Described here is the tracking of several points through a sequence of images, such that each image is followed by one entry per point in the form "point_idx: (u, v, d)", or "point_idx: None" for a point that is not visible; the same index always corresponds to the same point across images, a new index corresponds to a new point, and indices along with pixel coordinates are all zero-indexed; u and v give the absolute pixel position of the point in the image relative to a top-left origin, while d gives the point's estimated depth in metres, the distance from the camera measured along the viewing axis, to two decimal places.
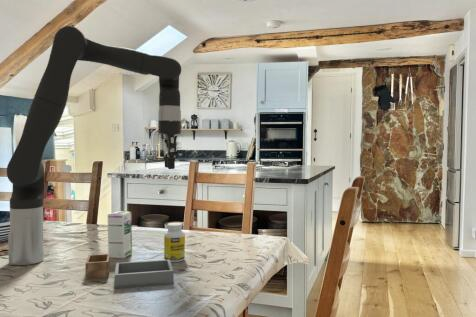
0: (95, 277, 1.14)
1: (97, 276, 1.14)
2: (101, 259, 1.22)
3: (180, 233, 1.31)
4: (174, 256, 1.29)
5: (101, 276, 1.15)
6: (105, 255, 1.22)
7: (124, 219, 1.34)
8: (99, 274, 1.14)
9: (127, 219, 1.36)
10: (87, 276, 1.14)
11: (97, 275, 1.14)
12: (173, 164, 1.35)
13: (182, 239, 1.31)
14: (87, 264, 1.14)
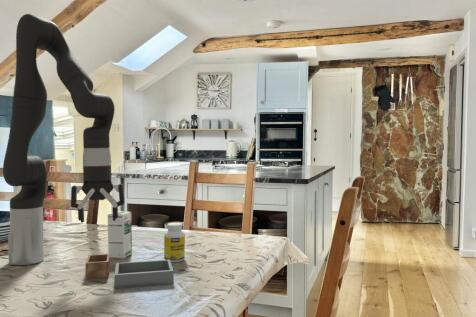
0: (95, 277, 1.14)
1: (97, 276, 1.14)
2: (101, 259, 1.22)
3: (180, 233, 1.31)
4: (174, 256, 1.29)
5: (101, 276, 1.15)
6: (105, 255, 1.22)
7: (124, 219, 1.34)
8: (99, 274, 1.14)
9: (127, 219, 1.36)
10: (87, 276, 1.14)
11: (97, 275, 1.14)
12: None
13: (182, 239, 1.31)
14: (87, 264, 1.14)
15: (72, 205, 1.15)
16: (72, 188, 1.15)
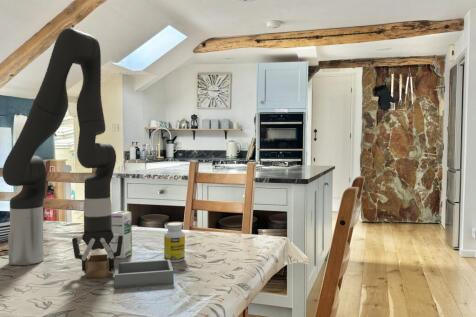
0: (95, 277, 1.14)
1: (97, 276, 1.14)
2: (101, 259, 1.22)
3: (180, 233, 1.31)
4: (174, 256, 1.29)
5: (101, 276, 1.15)
6: (105, 255, 1.22)
7: (124, 219, 1.34)
8: (99, 274, 1.14)
9: (127, 219, 1.36)
10: (87, 276, 1.14)
11: (97, 275, 1.14)
12: None
13: (182, 239, 1.31)
14: (87, 264, 1.14)
15: (76, 256, 1.16)
16: (73, 240, 1.15)
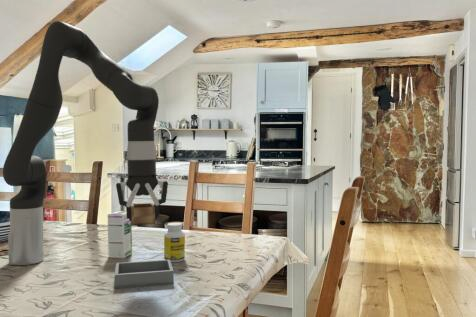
0: (141, 223, 1.09)
1: (143, 222, 1.09)
2: None
3: (180, 233, 1.31)
4: (174, 256, 1.29)
5: (147, 222, 1.09)
6: (148, 204, 1.17)
7: (124, 219, 1.34)
8: (145, 220, 1.09)
9: (127, 219, 1.36)
10: (133, 222, 1.08)
11: (143, 221, 1.09)
12: None
13: (182, 239, 1.31)
14: (133, 209, 1.08)
15: (120, 203, 1.10)
16: (117, 186, 1.10)
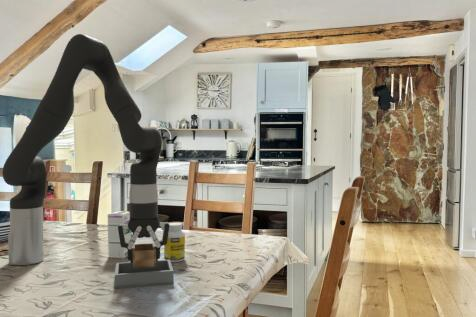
0: (142, 266, 1.09)
1: (144, 265, 1.09)
2: (145, 248, 1.17)
3: (180, 233, 1.31)
4: (174, 256, 1.29)
5: (148, 265, 1.10)
6: (150, 244, 1.17)
7: (124, 219, 1.34)
8: (146, 263, 1.10)
9: (127, 219, 1.36)
10: (134, 265, 1.09)
11: (144, 264, 1.09)
12: None
13: (182, 239, 1.31)
14: (134, 253, 1.09)
15: (122, 245, 1.11)
16: (119, 228, 1.10)
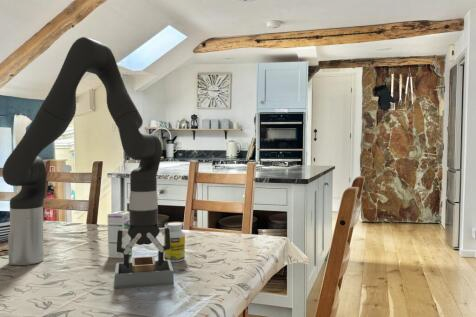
0: None
1: None
2: (145, 262, 1.17)
3: (180, 233, 1.31)
4: (174, 256, 1.29)
5: None
6: (149, 258, 1.17)
7: (124, 219, 1.34)
8: None
9: (127, 219, 1.36)
10: None
11: None
12: None
13: (182, 239, 1.31)
14: (134, 267, 1.09)
15: (118, 250, 1.11)
16: (118, 233, 1.10)
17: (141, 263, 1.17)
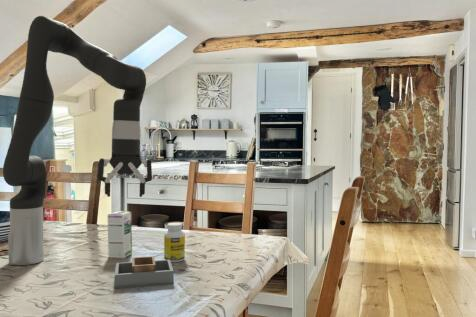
0: None
1: None
2: (145, 262, 1.17)
3: (180, 233, 1.31)
4: (174, 256, 1.29)
5: None
6: (149, 258, 1.17)
7: (124, 219, 1.34)
8: None
9: (127, 219, 1.36)
10: None
11: None
12: None
13: (182, 239, 1.31)
14: (134, 267, 1.09)
15: (99, 178, 1.11)
16: (100, 161, 1.11)
17: (141, 263, 1.17)
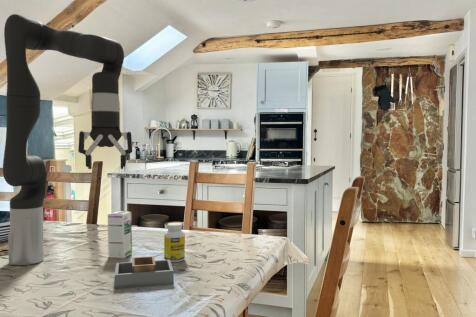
0: None
1: None
2: (145, 262, 1.17)
3: (180, 233, 1.31)
4: (174, 256, 1.29)
5: None
6: (149, 258, 1.17)
7: (124, 219, 1.34)
8: None
9: (127, 219, 1.36)
10: None
11: None
12: None
13: (182, 239, 1.31)
14: (134, 267, 1.09)
15: (80, 151, 1.13)
16: (80, 133, 1.13)
17: (141, 263, 1.17)
